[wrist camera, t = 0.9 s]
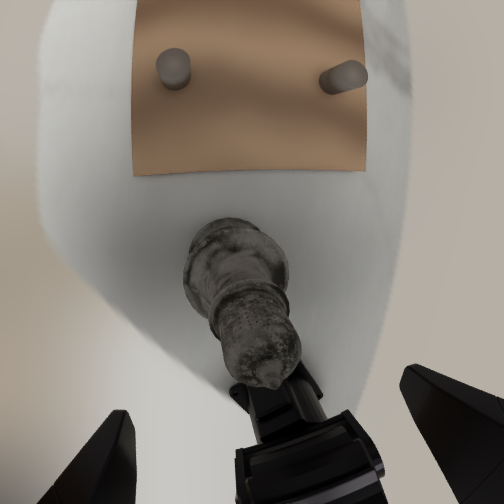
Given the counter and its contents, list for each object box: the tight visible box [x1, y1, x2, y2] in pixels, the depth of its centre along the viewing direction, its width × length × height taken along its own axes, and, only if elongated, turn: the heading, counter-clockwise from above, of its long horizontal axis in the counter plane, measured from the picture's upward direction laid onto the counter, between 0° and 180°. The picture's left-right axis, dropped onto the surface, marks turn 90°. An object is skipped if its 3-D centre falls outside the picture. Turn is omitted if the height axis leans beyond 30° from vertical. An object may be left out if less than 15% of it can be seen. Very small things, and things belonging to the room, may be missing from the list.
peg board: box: [131, 0, 368, 176], centre depth 13 cm, size 20×14×4 cm
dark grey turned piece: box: [183, 218, 302, 390], centre depth 15 cm, size 6×6×12 cm
